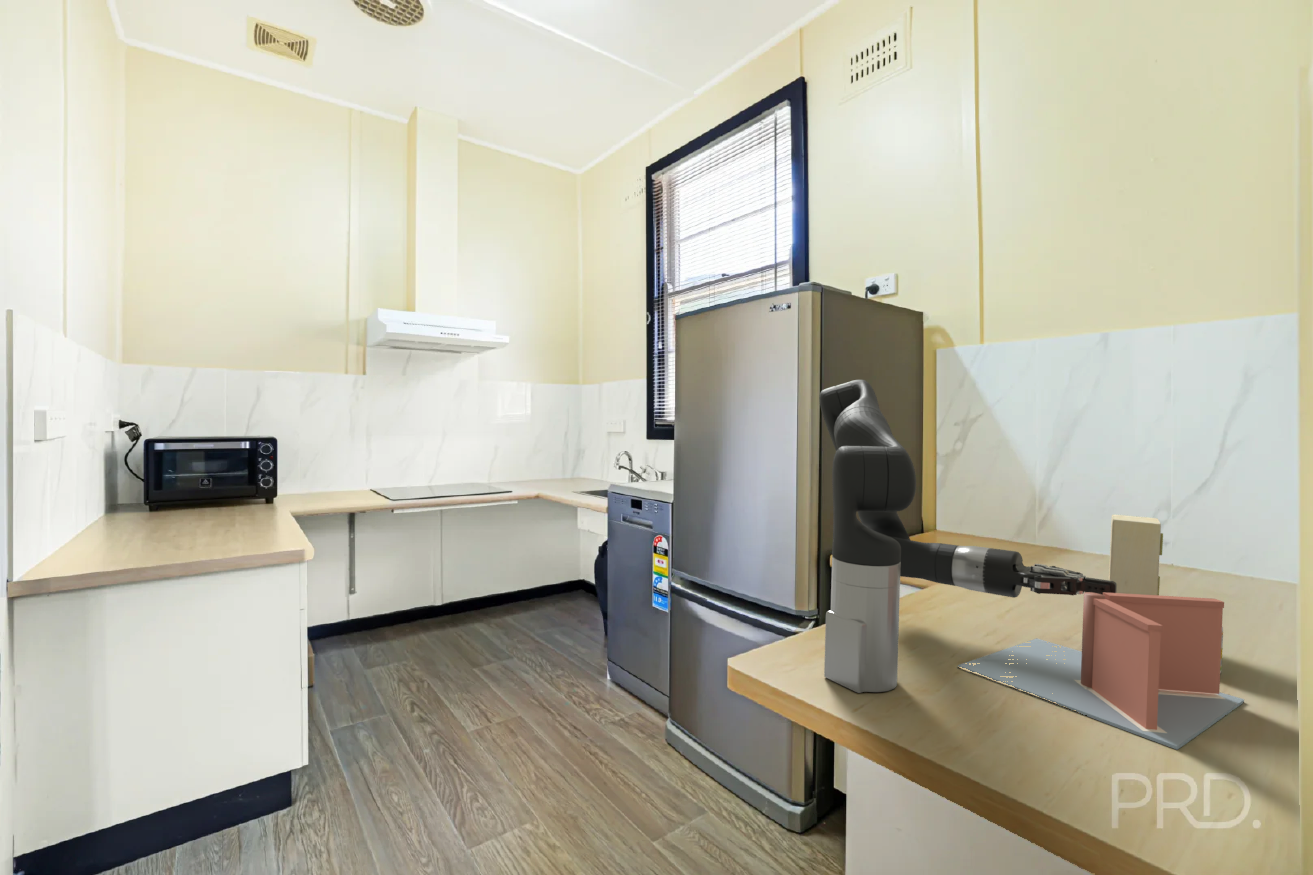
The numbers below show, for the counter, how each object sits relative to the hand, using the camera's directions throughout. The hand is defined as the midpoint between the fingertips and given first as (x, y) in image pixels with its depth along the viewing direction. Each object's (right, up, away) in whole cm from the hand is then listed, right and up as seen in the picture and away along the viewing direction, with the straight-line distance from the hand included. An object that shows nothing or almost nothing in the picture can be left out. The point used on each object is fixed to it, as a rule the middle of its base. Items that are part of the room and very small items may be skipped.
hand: (1115, 589), depth 88 cm
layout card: (-6, -13, -4) cm, 14 cm away
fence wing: (+1, -12, -6) cm, 14 cm away
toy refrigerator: (+16, -13, +16) cm, 26 cm away
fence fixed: (-8, -13, -11) cm, 18 cm away
